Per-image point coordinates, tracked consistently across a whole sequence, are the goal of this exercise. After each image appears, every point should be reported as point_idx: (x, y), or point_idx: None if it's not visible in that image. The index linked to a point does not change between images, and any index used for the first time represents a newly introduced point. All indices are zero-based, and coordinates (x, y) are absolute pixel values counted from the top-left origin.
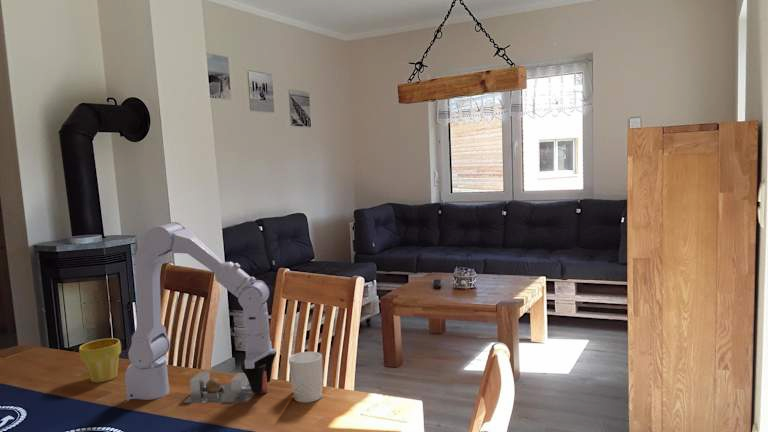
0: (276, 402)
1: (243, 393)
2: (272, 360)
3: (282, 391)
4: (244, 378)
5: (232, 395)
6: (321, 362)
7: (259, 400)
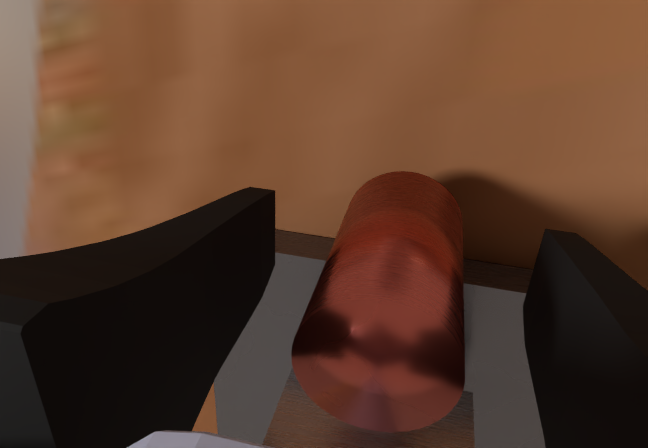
0: (568, 35)
1: None
2: (125, 281)
3: (278, 30)
4: (354, 444)
5: None
6: None
7: (471, 211)
